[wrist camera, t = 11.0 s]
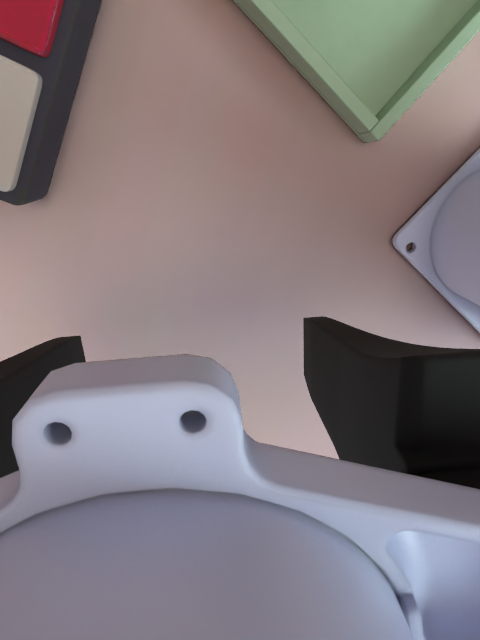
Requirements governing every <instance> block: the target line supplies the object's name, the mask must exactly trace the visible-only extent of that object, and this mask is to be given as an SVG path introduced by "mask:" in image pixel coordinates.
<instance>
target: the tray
mask: <svg viewBox="0 0 480 640" xmlns="http://www.w3.org/2000/svg"><path fill="white" fill-rule="evenodd" d="M233 1H234V2H235V3H236V4H237V5H238V7H239V8H240V9H241V10H242V11H243V12H244V13H245V14H246V15H247V16H248V17H249V18H250V20H251V21H252V22H253V23H254V24H255V25H256V26H257V27H258V28H259V29H260V30H261V31H262V33H263V34H264V35H265V36H266V37H267V38H268V39H269V40H270V41H271V42H272V43H273V44H274V46H275V47H276V48H277V49H278V50H279V51H280V52H281V53H282V54H283V55H284V56H285V57H286V59H287V60H288V61H289V62H290V63H291V64H292V65H293V66H294V67H295V68H296V69H297V70H298V72H299V73H300V74H301V75H302V76H303V77H304V78H305V79H306V80H307V81H308V82H309V83H310V85H311V86H312V87H313V88H314V89H315V90H316V91H317V92H318V93H319V94H320V95H321V96H322V98H323V99H324V100H325V101H326V102H327V103H328V104H329V105H330V106H331V107H332V108H333V109H334V111H335V112H336V113H337V114H338V115H339V116H340V117H341V118H342V119H343V120H344V121H345V122H346V124H347V125H348V126H349V127H350V128H351V129H352V130H353V131H354V132H355V133H356V134H357V136H358V137H359V138H360V139H361V140H362V141H363V142H364V143H367V142H374V141H379V140H380V139H381V138H382V137H383V136H384V135H385V134H386V133H387V132H388V130H389V129H390V128H391V127H392V126H393V125H394V124H395V123H396V122H397V121H398V119H399V118H400V117H401V116H402V115H403V114H404V113H405V112H406V111H407V110H408V108H409V107H410V106H411V105H412V104H413V103H414V102H415V101H416V100H417V98H418V97H419V96H420V95H421V94H422V93H423V92H424V91H425V90H426V89H427V87H428V86H429V85H430V84H431V83H432V82H433V81H434V80H435V79H436V78H437V76H438V75H439V74H440V73H441V72H442V71H443V70H444V69H445V68H446V67H447V65H448V64H449V63H450V62H451V61H452V60H453V59H454V58H455V57H456V56H457V54H458V53H459V52H460V51H461V50H462V49H463V48H464V47H465V46H466V45H467V43H468V42H469V41H470V40H471V39H472V38H473V37H474V36H475V35H476V33H477V32H478V31H479V30H480V0H233Z"/></svg>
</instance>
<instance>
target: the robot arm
mask: <svg viewBox="0 0 480 640" xmlns="http://www.w3.org/2000/svg"><path fill="white" fill-rule="evenodd" d="M409 243H412V244H413V246H412V249H411V250H409V251H407V250H406V246H407V244H409ZM393 245H394V247H395V248H396V249H397V250H398V251H399V252H400V253H401V254H402V255H403V256H404V257H405V258H406V259H407V260H408V261H409V262H410V263H411V264H412V265H413V266H414V267H415V268H416V269H417V270H418V271H419V272H420V273H421V274H422V275H423V276H424V277H425V278H426V279H427V280H428V281H429V282H430V283H431V284H432V285H433V286H434V287H435V288H436V289H437V290H438V291H439V292H440V293H441V295H442V296H443V297H444V298H445V299H446V300H447V301H448V302H449V303H450V304H451V305H452V306H453V307H454V308H455V309H456V310H457V311H458V312H459V313H460V314H461V315H462V316H463V317H464V318H465V319H466V320H467V321H468V322H469V323H470V324H471V325H472V326H473V327H474V328H475V329H476V330H477V331H478V332H479V333H480V148H479V149H478V150H477V151H476V152H475V153H474V154H473V155H472V156H471V157H470V158H469V159H468V160H467V161H466V162H465V163H464V164H463V165H462V166H461V168H460V169H459V170H458V171H457V172H456V173H455V174H454V175H453V176H452V177H451V178H450V179H449V180H448V181H447V182H446V183H445V184H444V185H443V186H442V187H441V188H440V189H439V190H438V191H437V192H436V193H435V194H434V195H433V196H432V197H431V198H430V199H429V200H428V201H427V202H426V203H425V204H424V205H423V206H422V207H421V208H420V210H419V211H418V212H417V213H416V214H415V215H414V216H413V217H412V218H411V219H410V220H409V221H408V222H407V223H406V224H405V225H404V226H403V227H402V228H401V229H400V230H399V231H398V232H397V233H396V234H395V236H394V237H393ZM304 376H305V379H306V383H307V387H308V390H309V393H310V396H311V399H312V401H313V403H314V405H315V407H316V409H317V411H318V413H319V415H320V418H321V420H322V422H323V424H324V426H325V428H326V430H327V432H328V434H329V436H330V438H331V440H332V442H333V444H334V446H335V449H336V451H337V454H338V456H339V459H340V460H339V459H334V458H330V457H325V456H320V455H316V454H311V453H306V452H301V451H297V450H292V449H287V448H283V447H278V446H273V445H268V444H264V443H259V442H256V441H255V440H253V439H252V438H251V437H250V436H249V435H247V434H246V432H245V430H244V429H243V424H242V416H241V408H240V400H239V393H238V390H237V388H236V385H235V383H234V380H233V377H232V375H231V373H230V372H229V371H228V370H226V369H225V368H224V367H222V366H221V365H220V364H219V363H217V362H216V361H215V360H213V359H212V358H208V357H201V356H195V355H188V354H181V355H169V356H156V357H144V358H132V359H120V360H107V361H95V362H86V361H85V356H84V351H83V347H82V342H81V337H80V336H71V337H60V338H55V339H52V340H49V341H47V342H44V343H42V344H39V345H37V346H35V347H33V348H30V349H28V350H26V351H24V352H22V353H19V354H17V355H15V356H13V357H10V358H8V359H6V360H3V361H1V362H0V640H480V349H452V348H439V347H430V346H422V345H415V344H409V343H405V342H400V341H396V340H391V339H387V338H384V337H380V336H377V335H374V334H371V333H368V332H365V331H362V330H359V329H357V328H354V327H352V326H349V325H347V324H344V323H341V322H339V321H336V320H334V319H331V318H328V317H311V318H304Z"/></svg>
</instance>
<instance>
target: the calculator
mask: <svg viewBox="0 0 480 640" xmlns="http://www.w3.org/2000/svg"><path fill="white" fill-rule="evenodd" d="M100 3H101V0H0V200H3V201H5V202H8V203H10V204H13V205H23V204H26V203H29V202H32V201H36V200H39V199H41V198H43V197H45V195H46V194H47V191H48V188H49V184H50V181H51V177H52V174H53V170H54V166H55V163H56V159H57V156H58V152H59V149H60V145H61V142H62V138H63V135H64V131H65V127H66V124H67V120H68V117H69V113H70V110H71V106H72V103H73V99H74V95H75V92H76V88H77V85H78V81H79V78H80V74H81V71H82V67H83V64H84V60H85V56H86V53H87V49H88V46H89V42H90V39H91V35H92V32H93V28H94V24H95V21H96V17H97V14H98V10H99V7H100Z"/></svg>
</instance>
